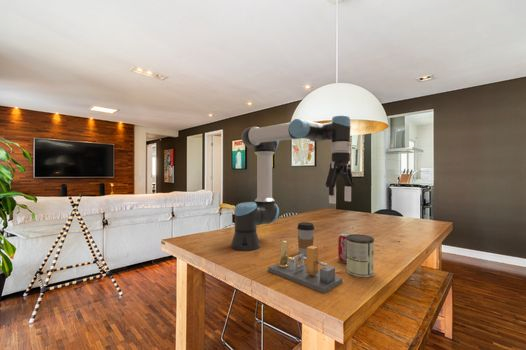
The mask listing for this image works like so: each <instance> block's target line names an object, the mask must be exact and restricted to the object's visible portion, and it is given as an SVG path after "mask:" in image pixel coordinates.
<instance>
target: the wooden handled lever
mask: <svg viewBox="0 0 526 350" xmlns="http://www.w3.org/2000/svg"><path fill="white" fill-rule="evenodd" d="M293 258H294V271H297V270H299V269H302V268H304V266H306V273H307V274H310V275H312V276H314V275H316V274H318V270H319V269H318V268H319V265H320V266H321V265H322V266H324V267H325V266H329V264H328V263H326V262H322V261H319V247H317V246H314V245H313V246H309V247H307V254H306V257H305V256H304V254H303V253H302V254H297V255H294V256H293ZM298 260H300V265H299V266H298V264H299V263H298V262H299V261H298ZM305 263H306V265H305Z"/></svg>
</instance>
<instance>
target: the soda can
mask: <svg viewBox="0 0 526 350" xmlns="http://www.w3.org/2000/svg"><path fill="white" fill-rule="evenodd" d="M347 235H352V234H351V233H348V232H342V233H339V236H338V239H337V257H338V260H339V261H340V262H342V263H345V264H347V238H346V236H347Z"/></svg>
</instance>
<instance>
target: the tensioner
mask: <svg viewBox="0 0 526 350" xmlns="http://www.w3.org/2000/svg"><path fill="white" fill-rule="evenodd" d="M319 271H320V282H322V283H324V284H329V283H331V282H333V281H335V276H336V267H334V266H330V265H328V266H324V267H321V268H319Z"/></svg>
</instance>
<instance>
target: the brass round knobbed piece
mask: <svg viewBox="0 0 526 350" xmlns="http://www.w3.org/2000/svg"><path fill="white" fill-rule="evenodd" d="M287 260H288V261H291V262H294V257H290V256H288V240H285V239H282V240H280V241H279V262H278V263H277V264H278V267H281V268H287V267H289V266H290V264H289V263H287Z"/></svg>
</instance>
